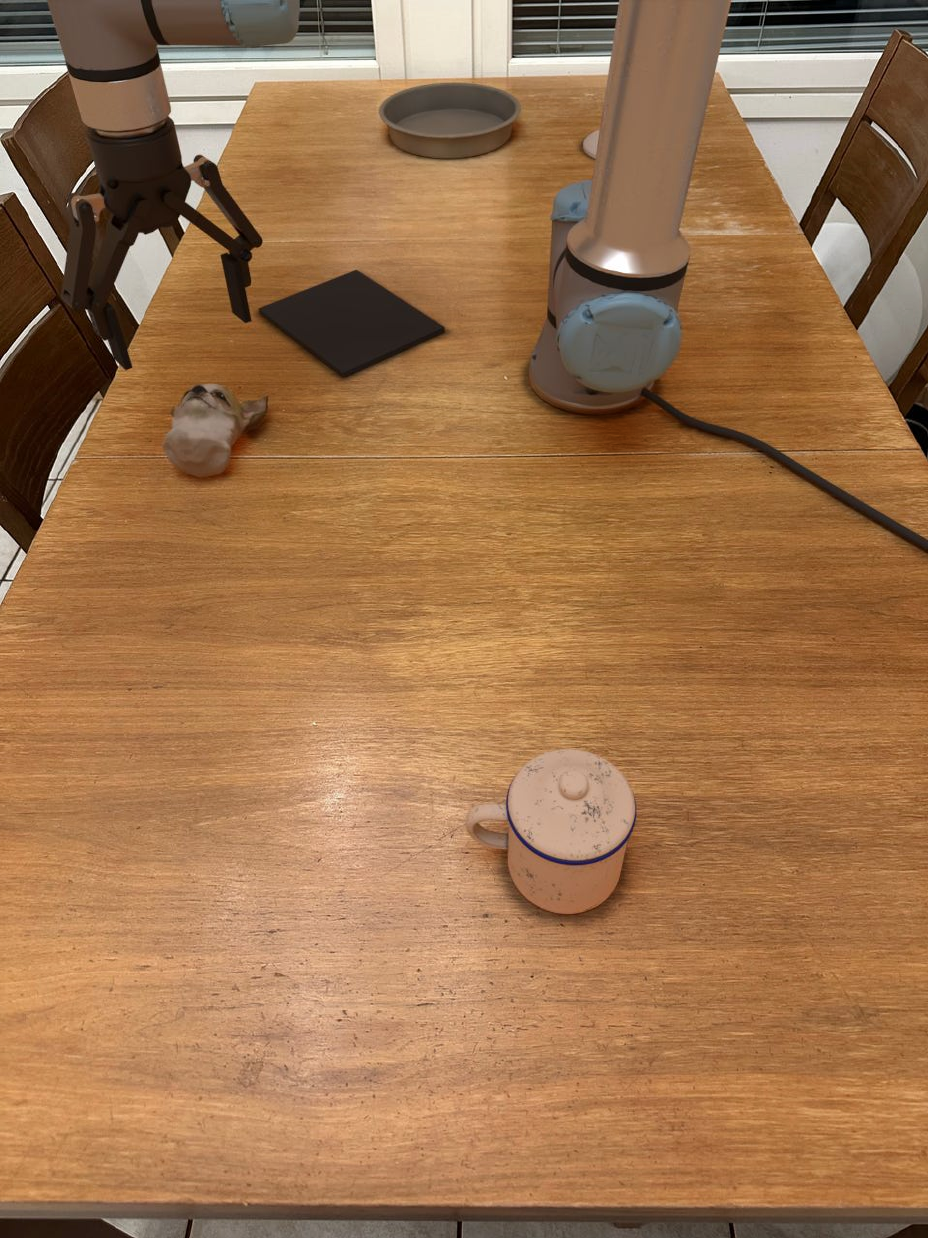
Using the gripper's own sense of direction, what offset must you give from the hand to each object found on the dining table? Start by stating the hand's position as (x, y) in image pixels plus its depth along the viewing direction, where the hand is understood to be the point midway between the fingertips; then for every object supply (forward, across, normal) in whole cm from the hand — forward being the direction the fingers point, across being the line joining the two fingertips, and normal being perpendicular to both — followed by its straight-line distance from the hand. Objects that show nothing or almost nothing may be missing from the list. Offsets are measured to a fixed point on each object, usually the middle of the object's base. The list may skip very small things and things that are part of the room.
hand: (184, 339), depth 97 cm
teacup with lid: (+14, +6, +62) cm, 64 cm away
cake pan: (+14, -76, -52) cm, 93 cm away
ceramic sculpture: (+14, 0, 0) cm, 14 cm away
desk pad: (+14, -27, -12) cm, 33 cm away
